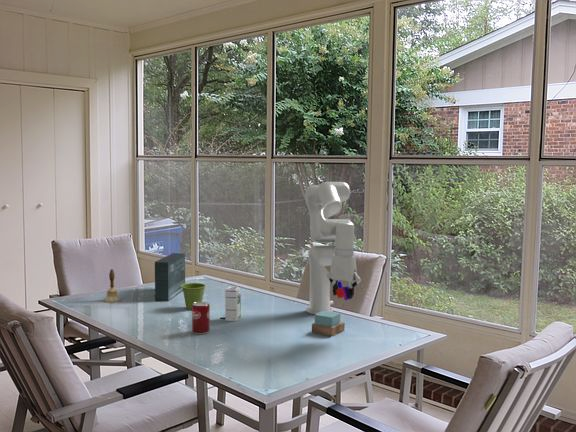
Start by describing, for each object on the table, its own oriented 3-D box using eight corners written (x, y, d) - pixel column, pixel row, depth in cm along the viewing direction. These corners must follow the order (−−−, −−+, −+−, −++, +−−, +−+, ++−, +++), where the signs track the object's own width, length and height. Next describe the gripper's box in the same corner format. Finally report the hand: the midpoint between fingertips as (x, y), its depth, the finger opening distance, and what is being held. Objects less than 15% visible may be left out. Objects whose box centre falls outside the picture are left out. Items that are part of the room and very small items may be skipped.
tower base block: (324, 327, 254) (324, 318, 254) (344, 331, 248) (344, 322, 248) (311, 333, 246) (311, 323, 245) (332, 337, 240) (332, 328, 240)
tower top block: (322, 319, 252) (322, 310, 252) (340, 322, 248) (340, 313, 248) (314, 324, 245) (314, 314, 245) (332, 326, 241) (332, 317, 241)
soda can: (195, 335, 240) (195, 306, 239) (189, 330, 246) (189, 302, 245) (212, 333, 243) (212, 304, 242) (206, 328, 250) (206, 301, 248)
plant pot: (176, 309, 281) (176, 286, 279) (189, 304, 291) (189, 282, 290) (198, 312, 276) (197, 288, 275) (210, 306, 287) (210, 284, 286)
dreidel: (345, 301, 241) (339, 282, 243) (352, 298, 238) (346, 279, 240) (339, 302, 239) (333, 283, 241) (346, 299, 236) (340, 280, 238)
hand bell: (124, 300, 299) (123, 269, 298) (111, 303, 292) (110, 271, 291) (113, 297, 304) (112, 267, 302) (100, 301, 297) (99, 269, 295)
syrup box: (237, 321, 261) (237, 289, 260) (224, 320, 262) (224, 288, 261) (241, 318, 267) (241, 286, 265) (228, 317, 268) (228, 286, 267)
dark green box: (173, 288, 327) (172, 253, 325) (185, 289, 326) (185, 253, 324) (155, 301, 298) (154, 262, 296) (168, 301, 297) (168, 262, 296)
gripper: (321, 251, 239) (320, 294, 241) (359, 256, 230) (357, 301, 232) (330, 248, 246) (329, 291, 248) (367, 253, 236) (366, 297, 238)
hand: (343, 295), depth 240 cm, fingers closed on dreidel, 6 cm apart
